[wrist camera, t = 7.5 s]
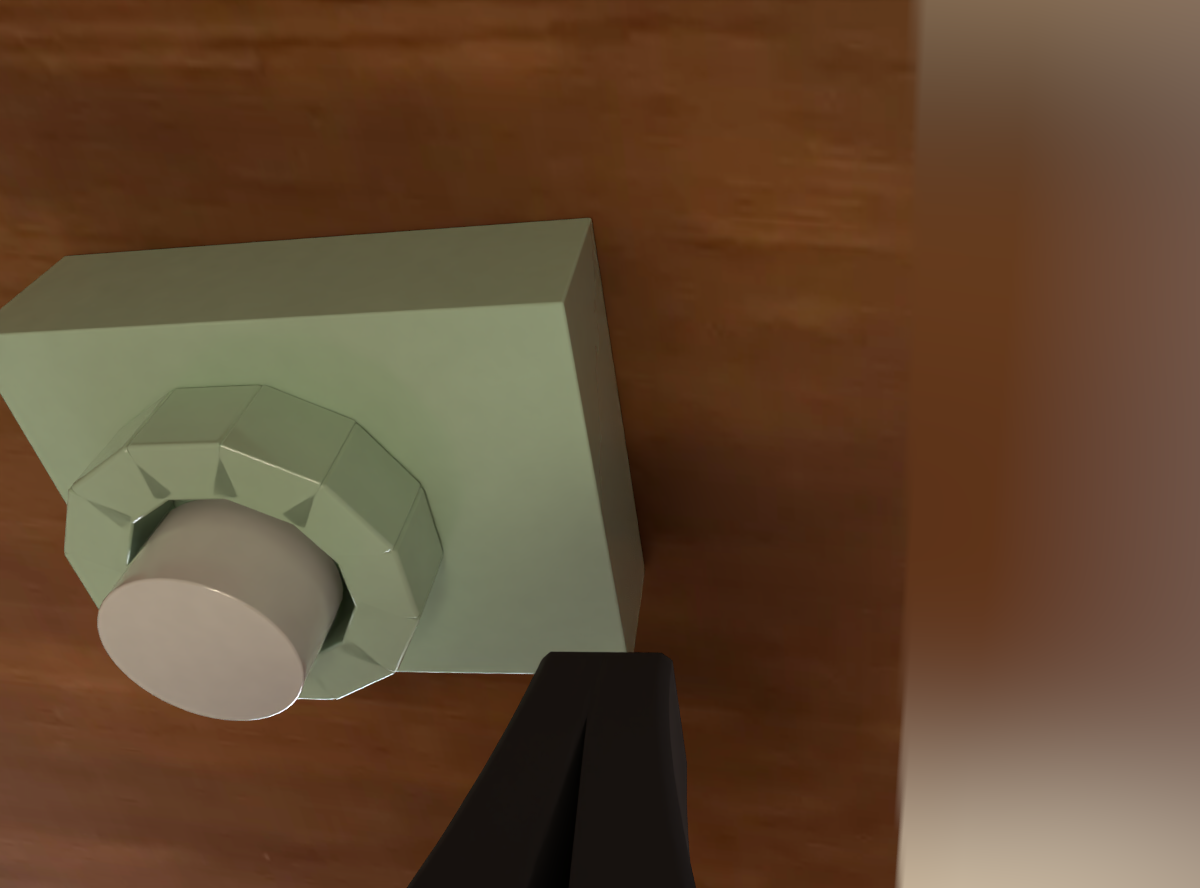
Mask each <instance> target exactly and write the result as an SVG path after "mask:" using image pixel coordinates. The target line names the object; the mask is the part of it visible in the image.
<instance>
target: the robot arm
mask: <svg viewBox="0 0 1200 888" xmlns="http://www.w3.org/2000/svg"><path fill="white" fill-rule="evenodd" d="M407 888H696V886H695V882H694V877H693V873H692V868H691V864H690V855H689V841H688V822H687V761H686V754H685V747H684V739H683V732H682V725H681V718H680V711H679V704H678V697H677V690H676V683H675V675H674V668H673V661H672V660H671V659H670V658H668V657H667V656H665V655H664V654H662V653H640V652H553V651H551V652H549V653H548V654H547V655H546V656H545V657H543V658H542V660H541V662H540V664H539V666H538V668H537V670H536V672H535V674H534V676H533V678H532V680H531V682H530V684H529V686H528V688H527V690H526V692H525V694H524V696H523V698H522V700H521V702H520V704H519V706H518V708H517V709H516V711H515V713H514V715H513V717H512V719H511V721H510V722H509V724H508V726H507V728H506V730H505V732H504V733H503V735H502V737H501V739H500V740H499V742H498V744H497V746H496V747H495V749H494V751H493V753H492V754H491V756H490V758H489V760H488V762H487V763H486V765H485V767H484V768H483V770H482V772H481V773H480V775H479V777H478V778H477V780H476V782H475V783H474V785H473V786H472V788H471V790H470V791H469V793H468V795H467V796H466V798H465V800H464V801H463V803H462V804H461V806H460V808H459V809H458V811H457V813H456V814H455V816H454V818H453V819H452V821H451V822H450V824H449V826H448V827H447V829H446V830H445V832H444V833H443V835H442V837H441V838H440V840H439V841H438V843H437V844H436V846H435V847H434V849H433V850H432V852H431V853H430V855H429V856H428V858H427V859H426V860H425V862H424V863H423V865H422V866H421V868H420V869H419V871H418V872H417V874H416V875H415V877H414V878H413V880H412V881H411V882H410V884H409V885H408V887H407Z"/></svg>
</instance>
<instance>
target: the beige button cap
mask: <svg viewBox="0 0 1200 888" xmlns="http://www.w3.org/2000/svg"><path fill="white" fill-rule="evenodd" d="M342 599H343V586H342V579H341V576H340V573H339V570H338V568H337V566H336V564H335V562H334V560H333V559H332V558H330V557H329V556H328V555H327V554H326V553H325V552H324V551H322V550H321V549H320V548H319V547H318V546H317V545H315V544H314V543H313V542H312V541H311V540H310V539H309V538H307V537H306V536H305V535H304V534H303V533H302V532H301V531H299V530H298V529H297V528H296V527H295V526H294V525H292V524H290V523H287V522H285V521H282V520H279V519H277V518H274V517H271V516H269V515H266V514H263V513H261V512H258V511H256V510H253V509H250V508H248V507H245V506H242V505H240V504H237V503H234V502H232V501H229V500H226V499H208V500H194V501H190V502H187V503H185V504H182V505H180V506H178V507H176V508H175V509H173V510H171V511H170V512H169V513H168V514H166V515H165V516H164V518H163V519H162V520H161V521H160V523H159V524H158V525H157V527H156V528H155V530H154V531H153V532H152V534H151V535H150V536H149V538H148V539H147V541H146V542H145V543H144V545H143V546H142V548H141V549H140V550H139V552H138V553H137V554H136V556H135V557H134V559H133V560H132V561H131V563H130V564H129V565H128V567H127V568H126V570H125V571H124V572H123V574H122V575H121V577H120V578H119V579H118V581H117V582H116V583H115V585H114V586H113V588H112V589H111V590H110V592H109V593H108V595H107V596H106V597H105V599H104V600H103V602H102V604H101V606H100V608H99V612H98V617H97V627H98V632H99V636H100V639H101V642H102V644H103V646H104V648H105V650H106V652H107V653H108V655H109V656H110V657H111V659H112V660H113V662H114V663H115V664H116V665H117V666H118V667H119V668H120V670H121V671H122V672H123V673H125V674H126V675H127V676H128V677H129V678H130V679H131V680H132V681H134V682H135V683H136V684H137V685H139V686H140V687H141V688H143V689H144V690H146V691H148V692H149V693H151V694H152V695H154V696H156V697H157V698H159V699H161V700H163V701H165V702H167V703H169V704H171V705H173V706H176V707H178V708H181V709H183V710H186V711H189V712H192V713H195V714H198V715H202V716H206V717H211V718H216V719H222V720H233V721H250V720H258V719H263V718H268V717H271V716H274V715H276V714H279V713H280V712H282V711H284V710H286V709H287V708H288V707H290V706H291V705H292V704H293V703H294V702H295V701H296V700H297V698H298V697H299V696H300V694H301V691H302V689H303V687H304V685H305V683H306V681H307V679H308V676H309V674H310V672H311V670H312V668H313V666H314V663H315V661H316V659H317V657H318V655H319V653H320V650H321V648H322V646H323V644H324V642H325V640H326V637H327V635H328V633H329V631H330V629H331V627H332V624H333V622H334V620H335V618H336V616H337V614H338V611H339V609H340V607H341V604H342Z"/></svg>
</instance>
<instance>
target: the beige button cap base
mask: <svg viewBox="0 0 1200 888" xmlns="http://www.w3.org/2000/svg"><path fill="white" fill-rule="evenodd" d="M0 394H1V396H2V397H3V399H4V401H5V402H6V404H7V406H8V407H9V409H10V411H11V412H12V414H13V416H14V417H15V419H16V421H17V422H18V424H19V426H20V427H21V429H22V431H23V432H24V434H25V436H26V437H27V439H28V441H29V443H30V444H31V446H32V448H33V449H34V451H35V453H36V454H37V456H38V458H39V459H40V461H41V463H42V464H43V466H44V468H45V469H46V471H47V473H48V474H49V476H50V478H51V479H52V481H53V483H54V484H55V486H56V488H57V489H58V491H59V493H60V494H61V496H62V498H63V499H64V501H65V503H66V504H67V515H66V529H65V544H64V552H65V556H66V558H67V560H68V561H69V563H70V564H71V566H72V568H73V569H74V571H75V572H76V574H77V576H78V577H79V579H80V580H81V582H82V584H83V585H84V587H85V588H86V590H87V592H88V593H89V595H90V596H91V598H92V600H93V601H94V603H95V604H96V606H97V608H98V609H99V608H100V606H101V604H102V602H103V600H104V599H105V597H106V596H107V595H108V593H109V592H110V590H111V589H112V588H113V586H114V585H115V583H116V582H117V581H118V579H119V578H120V577H121V575H122V574H123V572H124V571H125V570H126V568H127V567H128V565H129V564H130V563H131V561H132V560H133V559H134V557H135V556H136V554H137V553H138V552H139V550H140V549H141V548H142V546H143V545H144V543H145V542H146V541H147V539H148V538H149V536H150V535H151V534H152V532H153V531H154V530H155V528H156V527H157V525H158V524H159V523H160V521H161V520H162V519H163V518H164V516H165V515H166V514H168V513H169V512H170V511H171V510H173V509H175V508H176V507H178V506H180V505H182V504H185V503H187V502H190V501H194V500H208V499H226V500H229V501H232V502H234V503H237V504H240V505H242V506H245V507H248V508H250V509H253V510H256V511H258V512H261V513H263V514H266V515H269V516H271V517H274V518H277V519H279V520H282V521H285V522H287V523H290V524H292V525H294V526H295V527H296V528H297V529H298V530H299V531H301V532H302V533H303V534H304V535H305V536H306V537H307V538H309V539H310V540H311V541H312V542H313V543H314V544H315V545H317V546H318V547H319V548H320V549H321V550H322V551H324V552H325V553H326V554H327V555H328V556H329V557H330V558H332V559H333V560H334V562H335V564H336V566H337V568H338V570H339V573H340V576H341V579H342V586H343V599H342V604H341V607H340V609H339V611H338V614H337V616H336V618H335V620H334V622H333V624H332V627H331V629H330V631H329V633H328V635H327V637H326V640H325V642H324V644H323V646H322V648H321V650H320V653H319V655H318V657H317V659H316V661H315V663H314V666H313V668H312V670H311V672H310V674H309V676H308V679H307V681H306V683H305V685H304V687H303V689H302V691H301V694H300V696H299V697H298V698H297V699H313V700H333V699H341V698H343V697H345V696H347V695H349V694H351V693H354V692H356V691H358V690H360V689H362V688H365V687H367V686H369V685H371V684H373V683H375V682H378V681H380V680H382V679H384V678H386V677H388V676H391V675H393V674H394V673H395V672H433V673H496V674H535V672H536V670H537V668H538V666H539V664H540V662H541V660H542V658H543V657H545V656H546V655H547V654H548V653H549V652H551V651H553V652H634V646H635V638H636V631H637V624H638V617H639V610H640V602H641V595H642V588H643V581H644V574H645V567H644V560H643V554H642V547H641V541H640V534H639V528H638V521H637V514H636V508H635V501H634V495H633V488H632V482H631V475H630V469H629V462H628V455H627V449H626V442H625V436H624V429H623V423H622V416H621V410H620V403H619V396H618V390H617V383H616V377H615V370H614V364H613V357H612V351H611V344H610V337H609V331H608V324H607V318H606V311H605V305H604V298H603V292H602V285H601V278H600V272H599V265H598V259H597V252H596V246H595V239H594V233H593V226H592V220H591V218H580V219H566V220H552V221H539V222H525V223H511V224H498V225H484V226H470V227H456V228H443V229H429V230H415V231H402V232H388V233H374V234H361V235H347V236H333V237H320V238H306V239H292V240H279V241H265V242H251V243H238V244H224V245H210V246H197V247H183V248H169V249H156V250H142V251H128V252H115V253H101V254H87V255H74V256H65V257H63V258H62V259H61V260H60V261H58V262H57V263H56V264H55V265H53V266H52V267H51V268H50V269H49V270H47V271H46V272H45V273H44V274H42V275H41V276H40V277H39V278H38V279H36V280H35V281H34V282H33V283H31V284H30V285H29V286H28V287H27V288H25V289H24V290H23V291H22V292H20V293H19V294H18V295H17V296H16V297H14V298H13V299H12V300H11V301H9V302H8V303H7V304H6V305H5V306H3V307H2V308H1V309H0Z"/></svg>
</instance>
